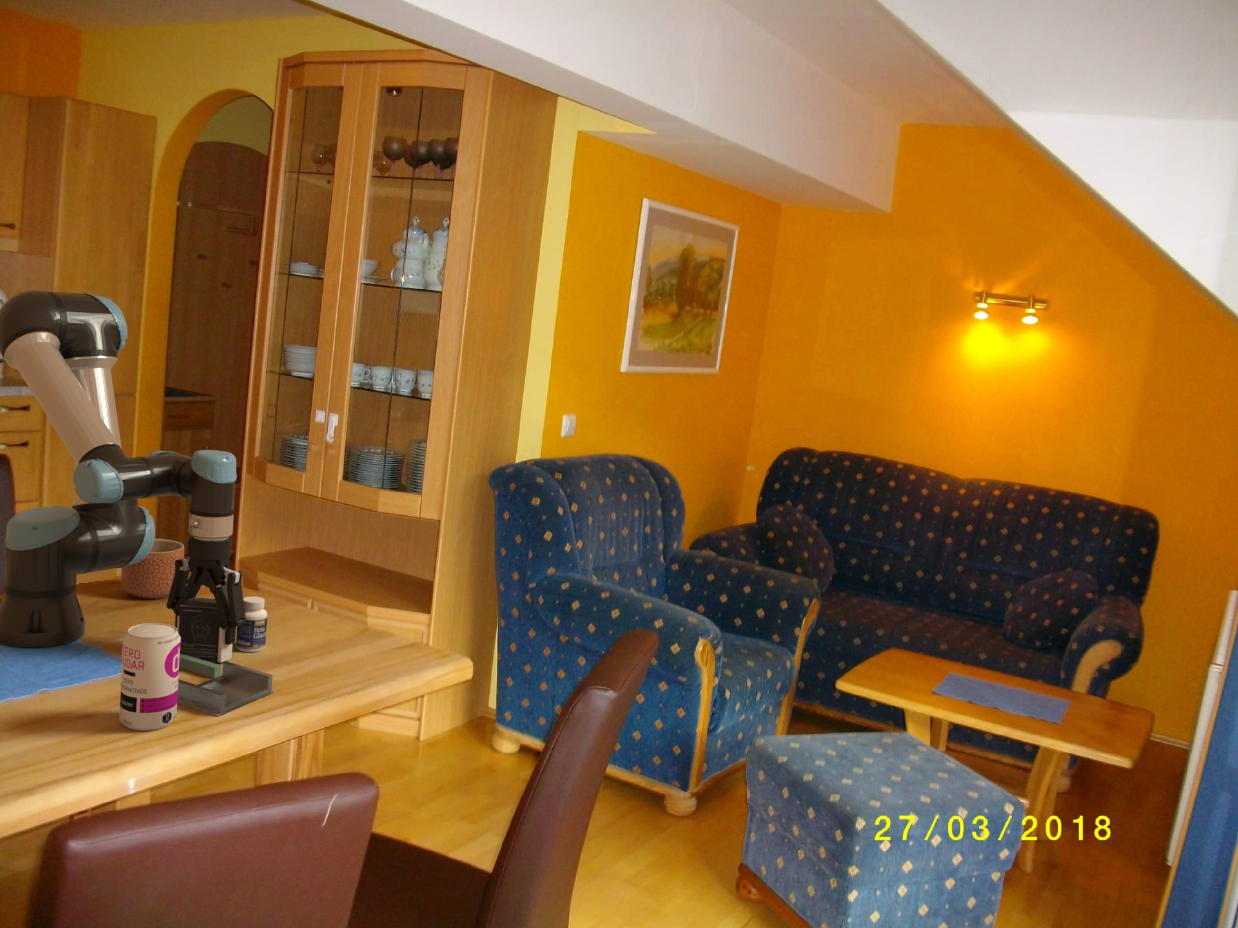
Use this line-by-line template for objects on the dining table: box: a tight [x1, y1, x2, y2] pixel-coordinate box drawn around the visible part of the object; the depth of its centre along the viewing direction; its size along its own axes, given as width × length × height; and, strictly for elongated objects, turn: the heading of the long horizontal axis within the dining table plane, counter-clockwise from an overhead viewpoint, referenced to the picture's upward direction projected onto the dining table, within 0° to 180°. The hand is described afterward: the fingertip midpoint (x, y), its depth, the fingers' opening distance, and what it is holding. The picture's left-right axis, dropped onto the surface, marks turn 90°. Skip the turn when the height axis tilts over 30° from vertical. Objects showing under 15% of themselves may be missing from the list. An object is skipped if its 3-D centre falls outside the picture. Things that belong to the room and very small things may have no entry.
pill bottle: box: [235, 596, 268, 653], centre depth 199 cm, size 5×5×10 cm
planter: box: [120, 538, 185, 600], centre depth 224 cm, size 12×12×11 cm
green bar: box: [179, 653, 222, 679], centre depth 187 cm, size 14×2×2 cm, turn 68°
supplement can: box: [118, 622, 181, 732], centre depth 163 cm, size 8×8×15 cm
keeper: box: [177, 661, 274, 717], centre depth 176 cm, size 10×13×3 cm
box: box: [179, 597, 230, 663], centre depth 192 cm, size 8×6×11 cm
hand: (203, 653), depth 193 cm, fingers closed on box, 9 cm apart
